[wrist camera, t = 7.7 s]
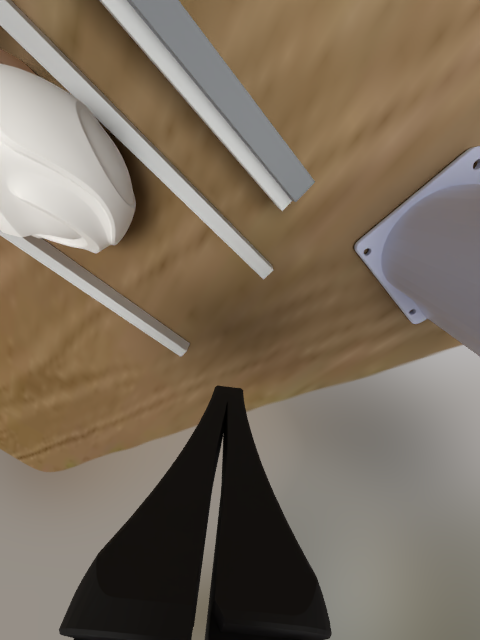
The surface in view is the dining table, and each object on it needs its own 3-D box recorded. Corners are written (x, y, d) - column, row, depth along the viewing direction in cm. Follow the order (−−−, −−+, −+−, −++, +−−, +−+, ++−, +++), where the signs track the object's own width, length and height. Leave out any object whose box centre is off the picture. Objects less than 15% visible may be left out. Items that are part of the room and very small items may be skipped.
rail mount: (319, 219, 15) (355, 234, 10) (184, 348, 22) (162, 397, 17) (-15, -199, 8) (-468, -859, 3) (-62, 179, 15) (-227, 172, 10)
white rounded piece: (47, 222, 16) (-97, 244, 9) (20, 82, 12) (-257, -47, 6) (154, 251, 17) (89, 290, 10) (160, 128, 13) (62, 61, 6)
